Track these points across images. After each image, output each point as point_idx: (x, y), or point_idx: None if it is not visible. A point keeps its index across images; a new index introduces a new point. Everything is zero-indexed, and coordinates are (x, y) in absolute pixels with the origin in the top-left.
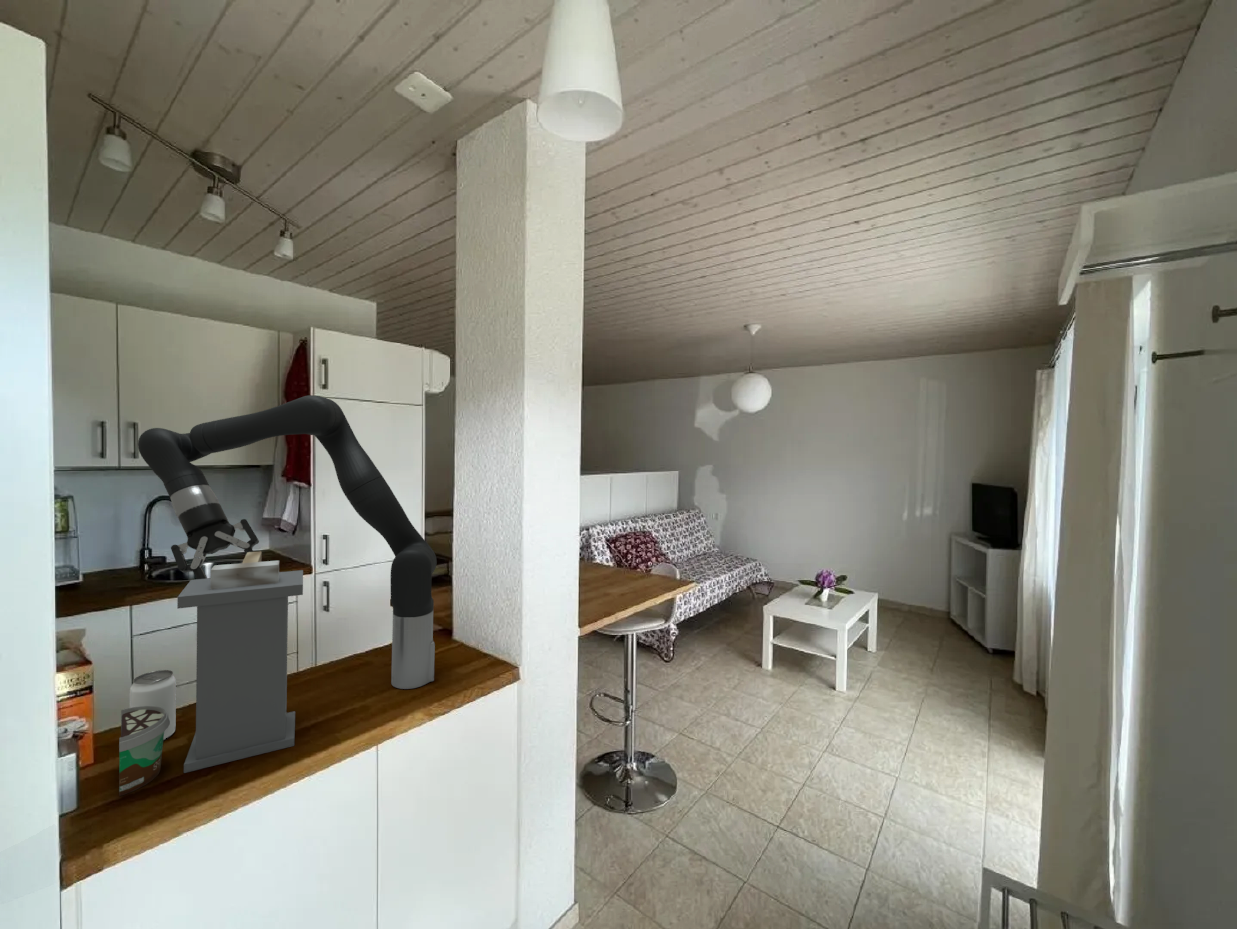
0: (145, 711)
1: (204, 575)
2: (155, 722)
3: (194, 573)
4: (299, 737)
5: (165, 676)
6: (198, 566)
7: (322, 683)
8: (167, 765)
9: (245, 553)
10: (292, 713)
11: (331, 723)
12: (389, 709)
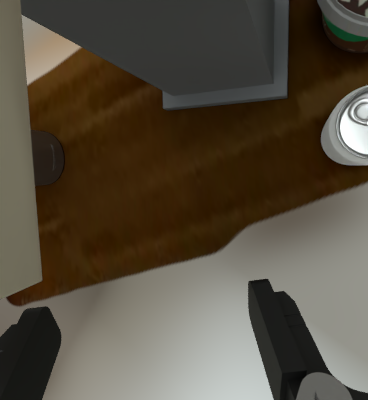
0: (365, 13)
1: (261, 319)
2: None
3: (318, 354)
4: None
5: (350, 121)
6: (296, 398)
7: (139, 210)
8: (314, 33)
9: (8, 374)
10: (165, 101)
11: (127, 75)
12: (69, 85)
